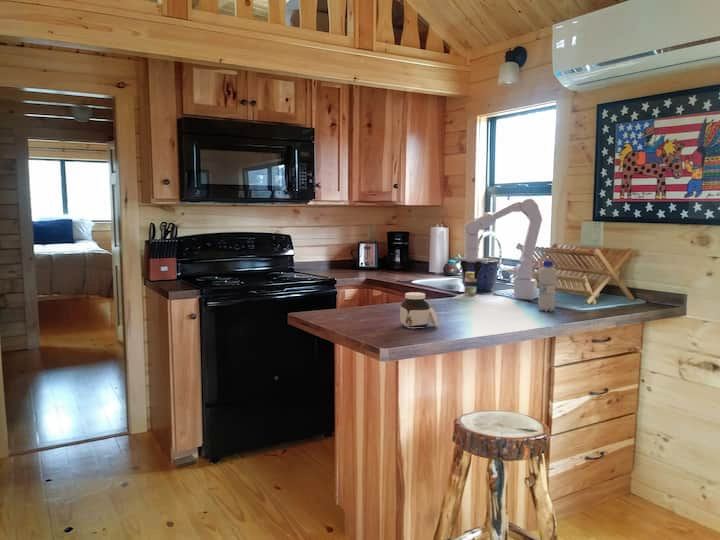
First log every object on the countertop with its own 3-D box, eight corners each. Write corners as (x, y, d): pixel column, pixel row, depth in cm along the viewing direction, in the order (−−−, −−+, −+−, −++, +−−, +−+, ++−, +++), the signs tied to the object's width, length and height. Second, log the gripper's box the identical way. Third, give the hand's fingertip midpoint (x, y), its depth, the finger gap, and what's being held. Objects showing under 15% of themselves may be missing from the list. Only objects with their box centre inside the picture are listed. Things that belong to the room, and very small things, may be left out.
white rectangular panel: (506, 298, 258) (506, 296, 258) (495, 303, 244) (495, 302, 244) (463, 294, 268) (463, 293, 268) (450, 299, 254) (450, 298, 254)
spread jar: (396, 325, 201) (397, 292, 200) (421, 322, 208) (421, 289, 206) (419, 332, 191) (420, 297, 190) (444, 328, 198) (445, 294, 197)
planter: (473, 287, 288) (474, 257, 287) (503, 291, 277) (505, 259, 275) (453, 291, 277) (454, 259, 275) (484, 295, 265) (485, 262, 263)
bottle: (546, 312, 225) (548, 261, 223) (533, 309, 231) (535, 260, 228) (558, 311, 228) (561, 260, 226) (546, 308, 234) (548, 259, 232)
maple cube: (476, 280, 261) (476, 272, 260) (473, 282, 257) (473, 273, 257) (468, 280, 262) (468, 271, 262) (464, 281, 259) (465, 272, 259)
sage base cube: (476, 295, 262) (476, 286, 261) (473, 296, 258) (473, 287, 258) (467, 294, 264) (467, 286, 263) (464, 296, 260) (464, 287, 260)
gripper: (453, 248, 258) (452, 278, 260) (484, 249, 251) (483, 280, 253) (458, 246, 264) (458, 276, 266) (489, 248, 257) (488, 278, 259)
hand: (470, 278), depth 260 cm, fingers closed on maple cube, 4 cm apart
